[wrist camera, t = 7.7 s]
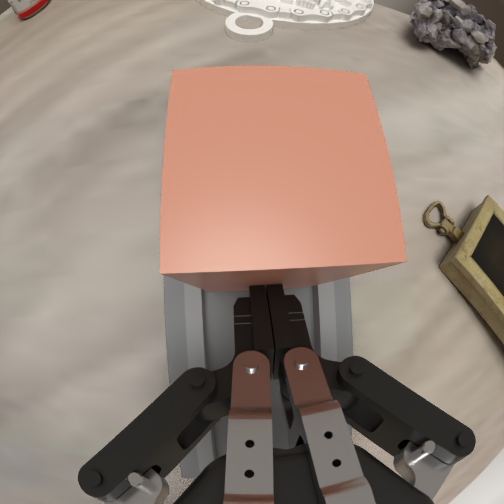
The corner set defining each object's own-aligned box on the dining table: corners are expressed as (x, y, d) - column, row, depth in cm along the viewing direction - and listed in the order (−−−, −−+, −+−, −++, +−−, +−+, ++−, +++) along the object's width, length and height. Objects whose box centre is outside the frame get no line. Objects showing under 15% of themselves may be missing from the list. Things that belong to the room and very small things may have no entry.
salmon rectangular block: (307, 287, 19) (406, 261, 7) (210, 292, 19) (160, 273, 7) (299, 195, 20) (365, 74, 8) (207, 198, 20) (172, 70, 8)
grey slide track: (344, 457, 18) (374, 498, 12) (184, 469, 18) (169, 516, 12) (316, 89, 23) (333, 40, 17) (175, 92, 23) (162, 41, 16)
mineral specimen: (402, 21, 21) (471, -21, 13) (385, 4, 26) (440, -31, 18) (463, 104, 27) (523, 71, 19) (441, 71, 32) (491, 42, 24)
